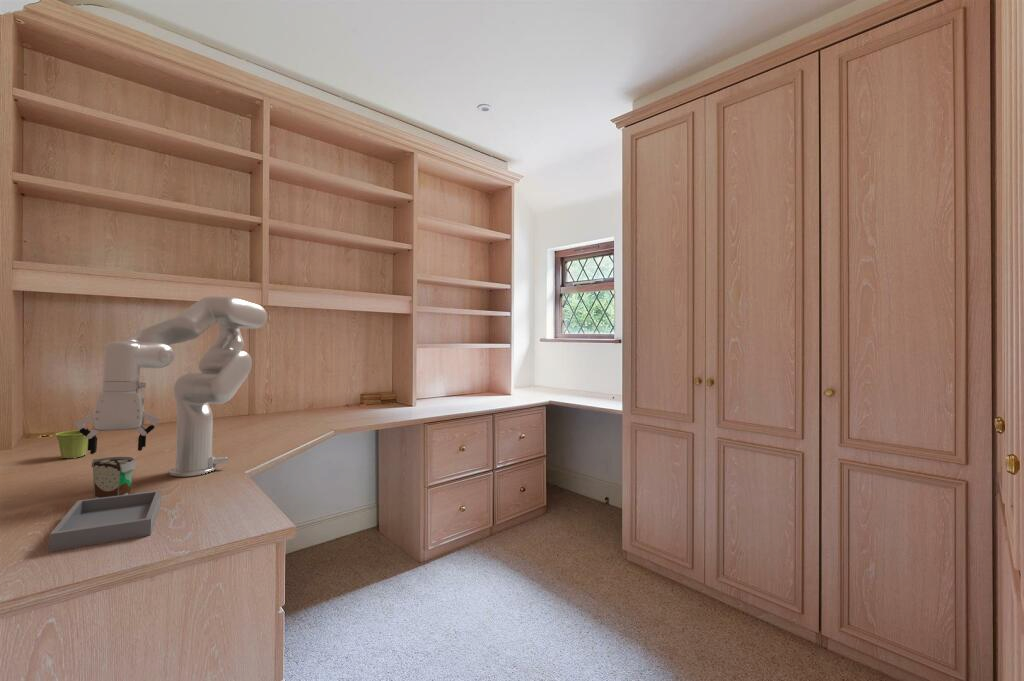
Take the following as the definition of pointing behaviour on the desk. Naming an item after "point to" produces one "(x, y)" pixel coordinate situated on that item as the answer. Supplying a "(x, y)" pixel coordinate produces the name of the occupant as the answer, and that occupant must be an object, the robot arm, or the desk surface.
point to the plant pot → (72, 444)
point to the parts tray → (106, 520)
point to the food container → (112, 476)
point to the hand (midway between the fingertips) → (117, 451)
